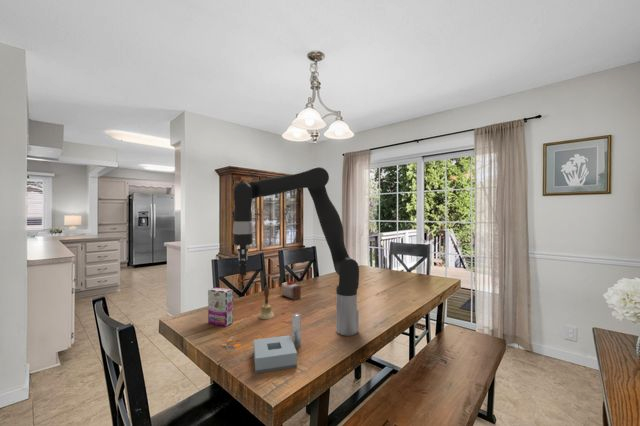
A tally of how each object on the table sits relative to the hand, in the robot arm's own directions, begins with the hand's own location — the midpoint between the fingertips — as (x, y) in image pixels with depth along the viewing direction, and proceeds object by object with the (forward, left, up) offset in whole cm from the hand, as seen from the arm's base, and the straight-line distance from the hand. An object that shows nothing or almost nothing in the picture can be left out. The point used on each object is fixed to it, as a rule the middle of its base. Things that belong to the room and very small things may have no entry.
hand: (242, 272), depth 112 cm
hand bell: (-12, -28, -29) cm, 43 cm away
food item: (-30, -57, -30) cm, 71 cm away
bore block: (-11, +15, -29) cm, 34 cm away
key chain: (+5, -2, -30) cm, 30 cm away
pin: (-21, +6, -29) cm, 36 cm away
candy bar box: (+10, -25, -29) cm, 40 cm away
